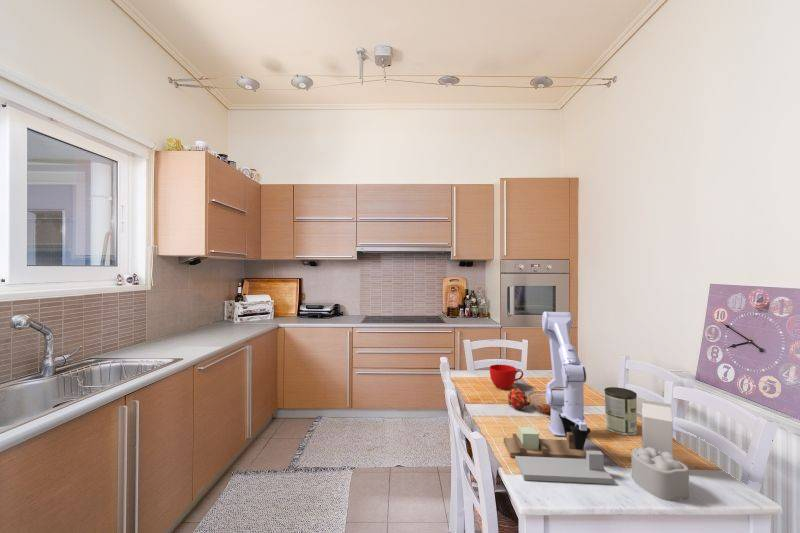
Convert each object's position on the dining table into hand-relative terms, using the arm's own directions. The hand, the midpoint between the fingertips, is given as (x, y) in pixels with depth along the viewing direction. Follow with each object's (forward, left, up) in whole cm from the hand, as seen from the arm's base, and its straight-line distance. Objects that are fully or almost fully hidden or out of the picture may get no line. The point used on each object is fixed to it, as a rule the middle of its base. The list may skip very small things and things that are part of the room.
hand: (574, 443), depth 114 cm
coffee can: (-24, -19, -3) cm, 31 cm away
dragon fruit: (+8, -37, -3) cm, 38 cm away
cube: (+14, 0, -1) cm, 15 cm away
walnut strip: (+10, 0, -3) cm, 10 cm away
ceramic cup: (+8, -64, -3) cm, 65 cm away
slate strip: (+8, +12, -3) cm, 15 cm away
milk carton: (-22, +5, -3) cm, 23 cm away
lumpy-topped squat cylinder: (-16, +16, -3) cm, 23 cm away
